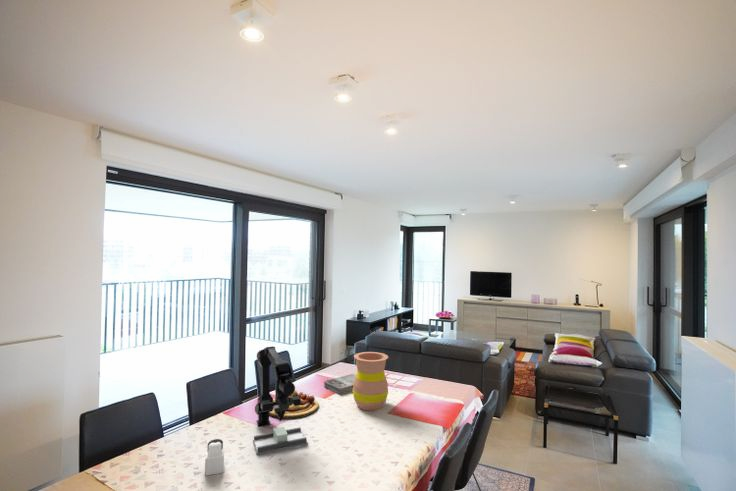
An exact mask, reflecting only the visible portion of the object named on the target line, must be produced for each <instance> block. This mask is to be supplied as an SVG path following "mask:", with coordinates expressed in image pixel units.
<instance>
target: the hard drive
mask: <svg viewBox="0 0 736 491" xmlns="http://www.w3.org/2000/svg"><path fill="white" fill-rule="evenodd" d="M356 374H357V373H351V374H347V375H343V376H339V377H335V378H331V379H327V380H324V381H323V387H324V388H325V389H326V390H328V391H330V392H333V393H334V394H336V395H343V394H348V393H351V392H353V382H354V380H355V377H356Z"/></svg>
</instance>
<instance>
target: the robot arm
mask: <svg viewBox="0 0 736 491" xmlns="http://www.w3.org/2000/svg"><path fill="white" fill-rule="evenodd" d="M256 360H257V363H258V365H259V366H260V394H259V396H258V397H257V403H256V404H255V406H254V412H255V414H256V415H257V420H256V424H257V426H258V427H262V426H268V425H271V421H270V415H269V412H271V411H273V409H274V410H275V411H277V413H278V417H279V418H278V420H279V422H282V421H283V419H284V418H283V416H284V413H285V411H286V410H287V409H289V406H291V405H295V406H298V405H301V399H300V398H299V397H298V396H293V397H288V395H291V394H293V392H294V391H296V385H295V384H294V383H293V382H292V380H291V379H293V374H294V373H293V370H292V367H291V365H290V363H289V362H288V361H287V360H286V359H282V358H281V356H280V355H279V353H278V352H277V350H276V347H275V346H272V345H271V346H266V347H264V348H263V349H261V350H258V352H257V353H256ZM271 365H272V366H273V367H272V368H273V369H272V371H273V375H274V377H275V385H274V386H275V389H274V392H275V393H274V396H275V397H274V398H275V402H273V399H274V398H273V396H272V395H271V392H270V391H271V388H270V387H271V386H270V383H271V382H270V380H271V379H270V377H271V376H270V372H271V371H270V370H271V369H270V366H271Z"/></svg>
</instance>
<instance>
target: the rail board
mask: <svg viewBox="0 0 736 491" xmlns="http://www.w3.org/2000/svg"><path fill="white" fill-rule="evenodd" d="M285 430H286V432H287V434H288V437H287V441H285V442H280V443H276V442H275V440H274V438H273V432H268V433H262V434H258V435H257V434H256V435H254V436H253V439H252V443H253V447H254V451H255V454H256V456H260V455H264V454H270V453H275V452H279V451H284V450H291V449H293V448H299V447H304V446H307V445H308V440H307V439H308V438H307V437H305V436H304V433H303V432H302V430H301V427H296V428H289V429H285Z"/></svg>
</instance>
